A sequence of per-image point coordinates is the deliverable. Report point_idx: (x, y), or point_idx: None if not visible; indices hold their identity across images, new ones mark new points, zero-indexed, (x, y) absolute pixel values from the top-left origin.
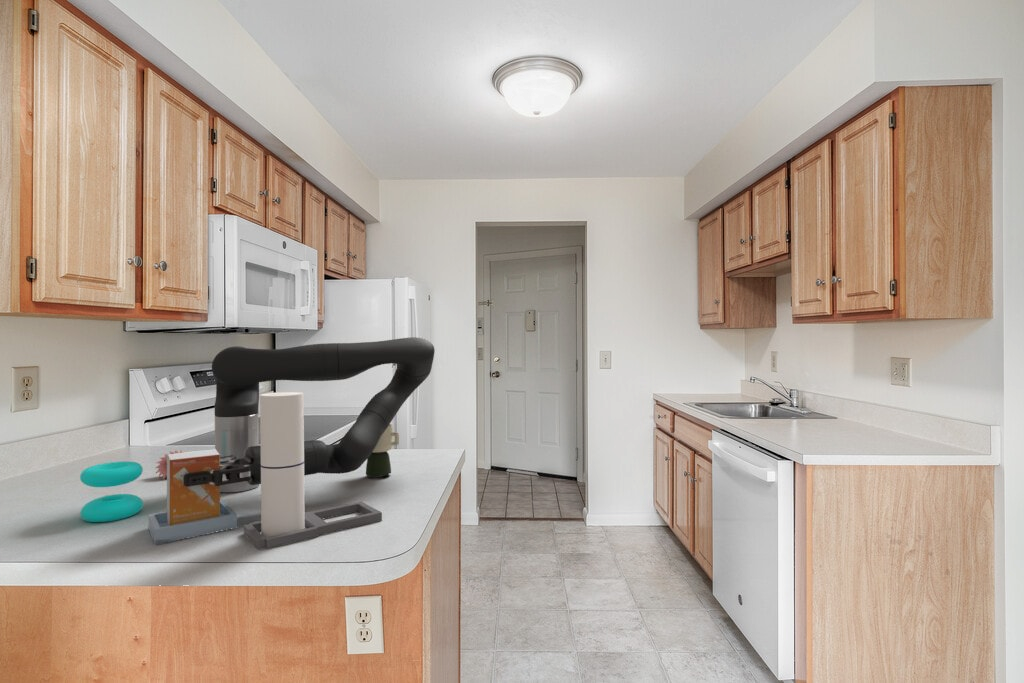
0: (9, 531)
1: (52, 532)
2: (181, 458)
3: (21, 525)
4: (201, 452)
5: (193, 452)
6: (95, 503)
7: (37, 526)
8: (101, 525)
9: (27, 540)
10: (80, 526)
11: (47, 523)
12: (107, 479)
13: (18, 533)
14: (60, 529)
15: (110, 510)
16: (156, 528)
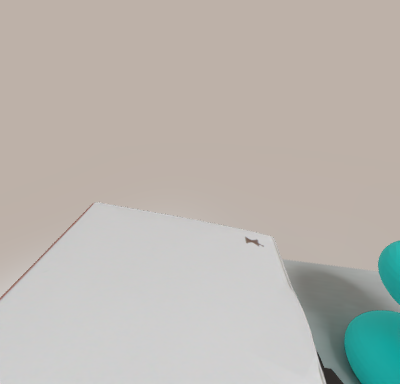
0: (339, 266)
1: (309, 293)
2: (74, 226)
3: (368, 278)
4: (176, 346)
5: (229, 309)
6: (383, 316)
7: (356, 287)
8: (325, 349)
9: None
10: (332, 323)
11: (371, 297)
12: (383, 271)
13: (324, 270)
14: (324, 302)
15: (355, 344)
16: None
